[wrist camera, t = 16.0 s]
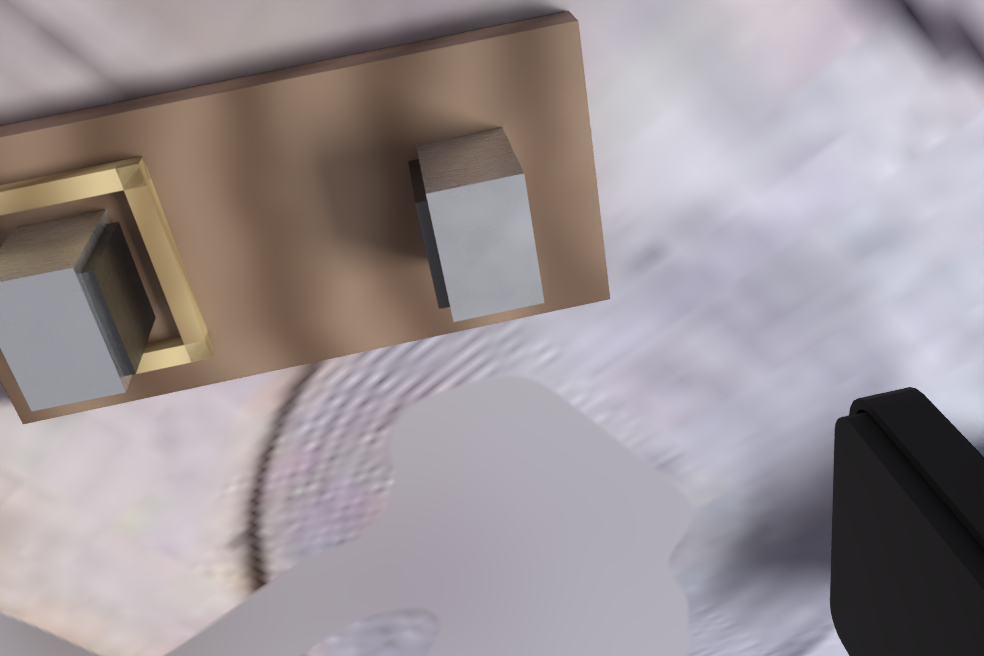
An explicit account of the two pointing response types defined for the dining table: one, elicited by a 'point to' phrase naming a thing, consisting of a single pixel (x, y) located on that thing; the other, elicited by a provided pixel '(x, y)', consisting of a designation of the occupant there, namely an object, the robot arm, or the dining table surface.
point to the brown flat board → (311, 198)
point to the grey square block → (476, 224)
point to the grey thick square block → (71, 310)
